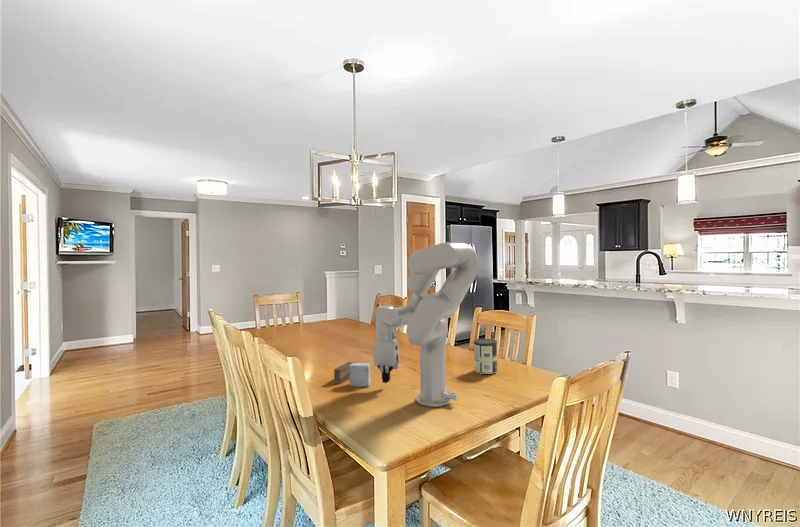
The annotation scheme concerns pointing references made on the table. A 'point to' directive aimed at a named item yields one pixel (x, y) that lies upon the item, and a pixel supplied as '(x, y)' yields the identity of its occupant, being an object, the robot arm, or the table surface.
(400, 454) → the table surface
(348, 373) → the walnut block
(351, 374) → the medicine box
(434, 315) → the robot arm
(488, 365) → the coffee can
